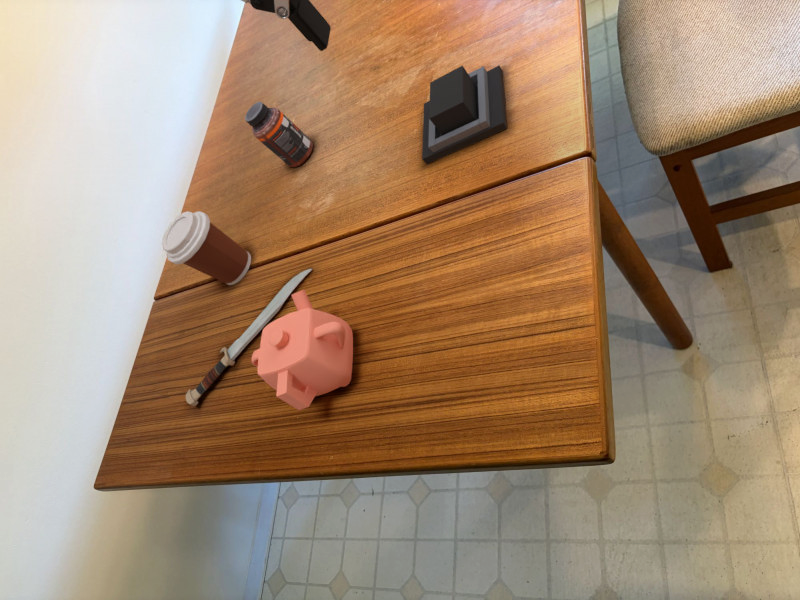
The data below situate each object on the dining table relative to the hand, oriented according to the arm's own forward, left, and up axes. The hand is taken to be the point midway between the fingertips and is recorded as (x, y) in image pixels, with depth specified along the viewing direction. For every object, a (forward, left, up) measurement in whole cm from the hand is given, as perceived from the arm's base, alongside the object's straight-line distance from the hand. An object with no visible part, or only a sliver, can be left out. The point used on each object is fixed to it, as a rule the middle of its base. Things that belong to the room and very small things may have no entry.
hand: (369, 12), depth 47 cm
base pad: (+5, -15, -26) cm, 31 cm away
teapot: (+24, +17, -26) cm, 40 cm away
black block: (+5, -15, -25) cm, 30 cm away
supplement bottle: (+37, -25, -26) cm, 52 cm away
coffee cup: (+48, -5, -26) cm, 55 cm away
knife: (+41, +9, -26) cm, 50 cm away
